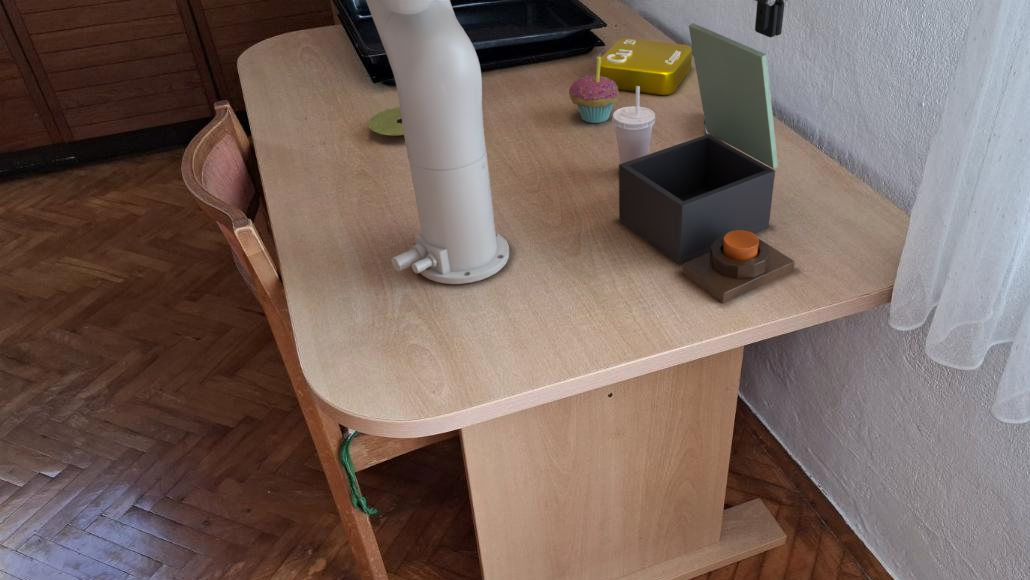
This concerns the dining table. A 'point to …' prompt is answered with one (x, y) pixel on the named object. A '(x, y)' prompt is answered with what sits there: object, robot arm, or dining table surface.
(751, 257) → the button
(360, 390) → the dining table surface
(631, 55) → the element tile
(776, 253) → the switch block
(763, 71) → the lid
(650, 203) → the dark grey hollow box
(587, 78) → the cupcake
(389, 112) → the mat
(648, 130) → the smoothie
